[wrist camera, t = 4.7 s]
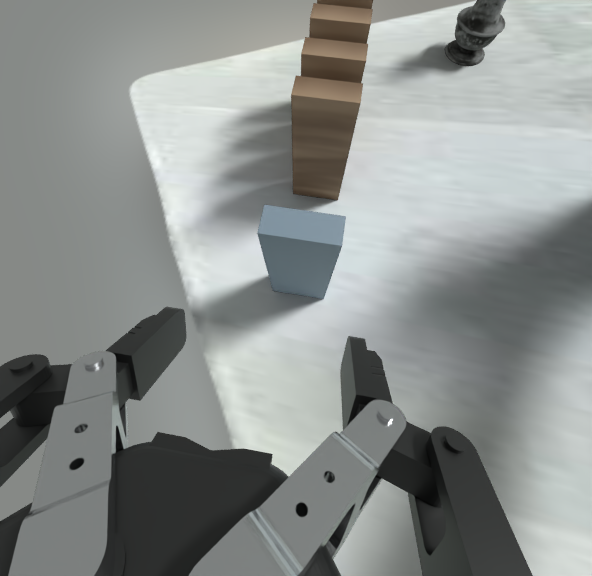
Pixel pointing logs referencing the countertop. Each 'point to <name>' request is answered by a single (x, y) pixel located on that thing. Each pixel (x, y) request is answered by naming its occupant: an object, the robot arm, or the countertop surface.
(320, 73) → the domino
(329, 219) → the blue domino
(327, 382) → the countertop surface
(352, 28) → the domino
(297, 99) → the domino
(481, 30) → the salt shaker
